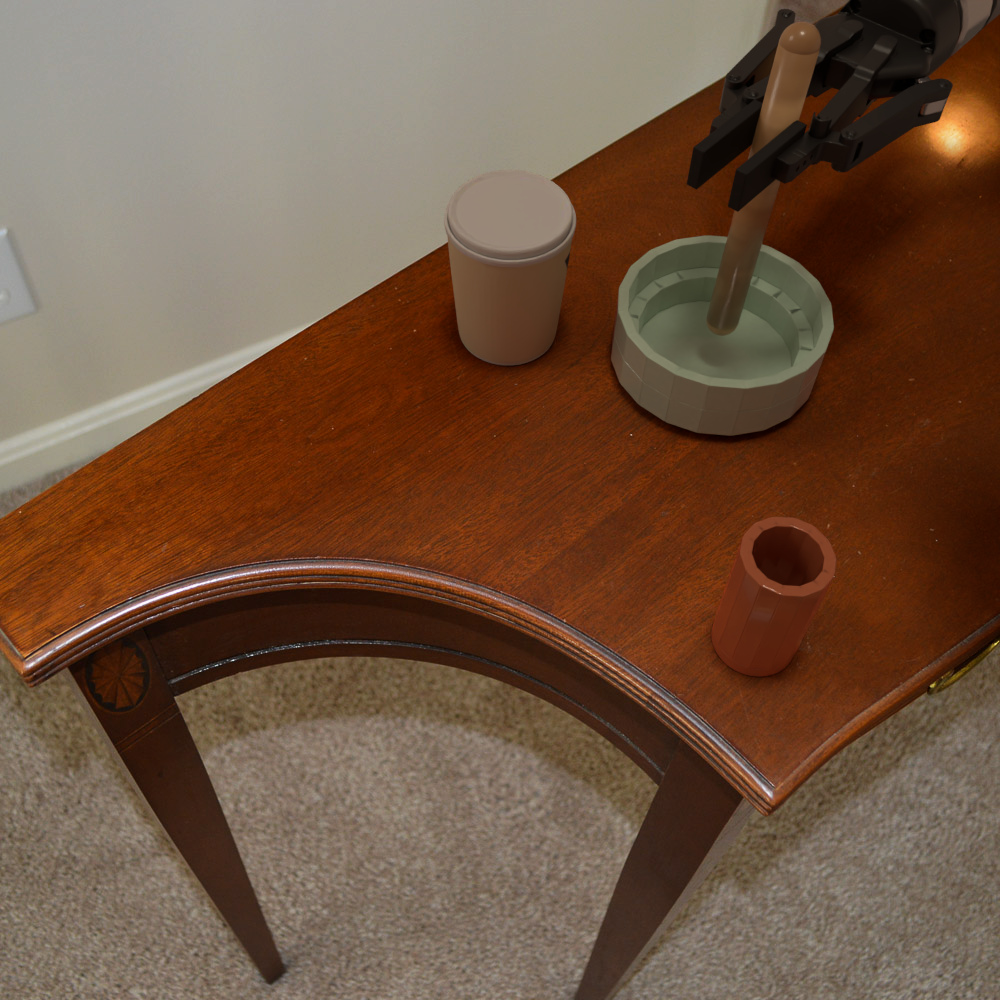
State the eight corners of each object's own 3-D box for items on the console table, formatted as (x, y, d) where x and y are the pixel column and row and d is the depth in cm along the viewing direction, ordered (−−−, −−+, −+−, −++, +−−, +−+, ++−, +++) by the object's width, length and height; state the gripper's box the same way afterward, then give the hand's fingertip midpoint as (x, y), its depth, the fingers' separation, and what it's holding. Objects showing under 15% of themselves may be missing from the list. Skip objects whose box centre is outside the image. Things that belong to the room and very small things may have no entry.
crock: (811, 635, 71) (854, 551, 62) (764, 693, 68) (802, 614, 60) (742, 587, 73) (775, 500, 64) (693, 642, 70) (721, 558, 62)
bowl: (851, 358, 85) (873, 302, 80) (737, 477, 78) (754, 423, 73) (688, 265, 91) (700, 208, 86) (569, 368, 84) (574, 311, 79)
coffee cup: (590, 342, 86) (603, 221, 76) (491, 392, 82) (492, 272, 73) (521, 273, 90) (526, 151, 80) (425, 318, 87) (418, 196, 77)
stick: (741, 331, 82) (834, 24, 63) (723, 347, 81) (812, 39, 62) (715, 315, 83) (798, 8, 64) (696, 331, 81) (776, 23, 63)
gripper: (992, 112, 76) (810, 286, 65) (803, 28, 82) (608, 175, 71) (1037, 10, 70) (844, 184, 59) (829, -73, 76) (620, 72, 65)
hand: (716, 179), depth 65 cm, fingers closed on stick, 2 cm apart
